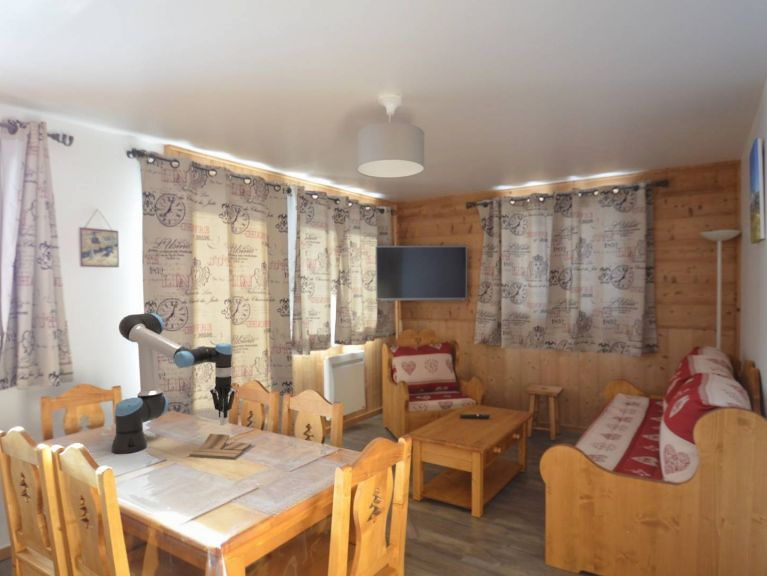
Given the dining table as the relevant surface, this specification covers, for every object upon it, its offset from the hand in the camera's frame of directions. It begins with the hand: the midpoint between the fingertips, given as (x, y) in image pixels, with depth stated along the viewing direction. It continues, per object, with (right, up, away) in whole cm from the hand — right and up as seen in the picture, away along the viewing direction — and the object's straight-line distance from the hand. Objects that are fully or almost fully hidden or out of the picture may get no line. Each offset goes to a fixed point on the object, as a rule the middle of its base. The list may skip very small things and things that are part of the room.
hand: (223, 424), depth 234 cm
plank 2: (+8, -10, -4) cm, 14 cm away
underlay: (+2, -11, -7) cm, 14 cm away
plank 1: (-2, -8, -3) cm, 9 cm away
